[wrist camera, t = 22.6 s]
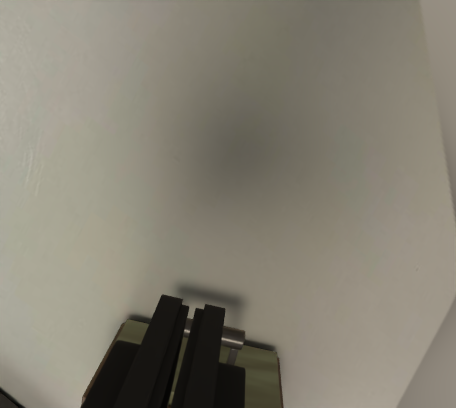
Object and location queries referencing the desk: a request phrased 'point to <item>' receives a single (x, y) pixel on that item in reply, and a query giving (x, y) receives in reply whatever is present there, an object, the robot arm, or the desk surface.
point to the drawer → (229, 362)
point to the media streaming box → (6, 402)
